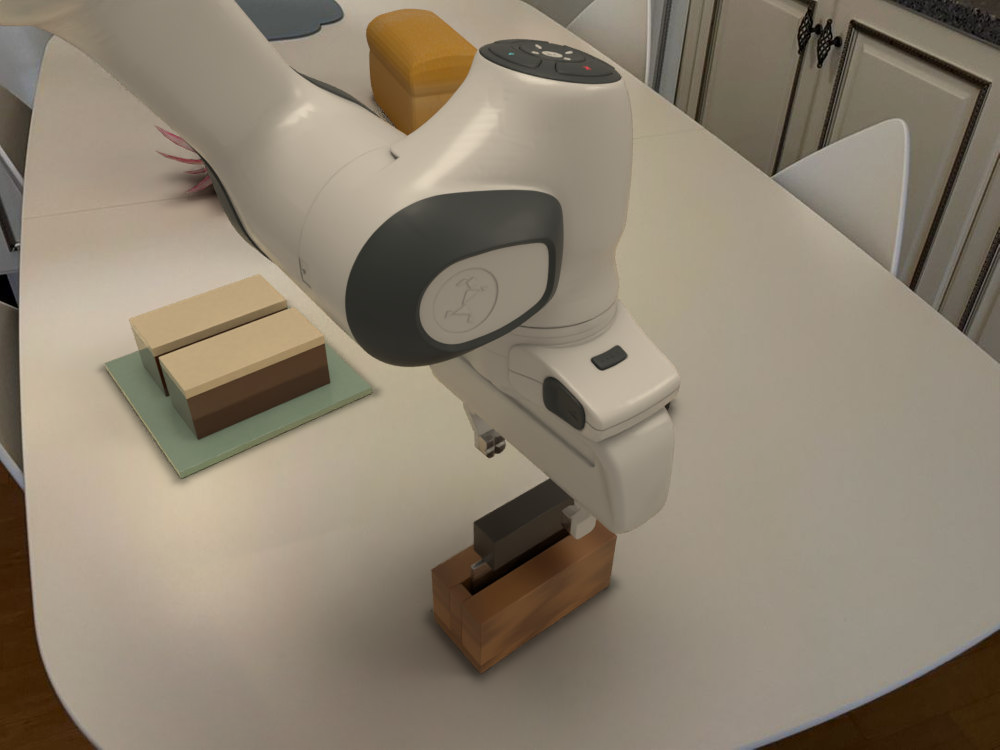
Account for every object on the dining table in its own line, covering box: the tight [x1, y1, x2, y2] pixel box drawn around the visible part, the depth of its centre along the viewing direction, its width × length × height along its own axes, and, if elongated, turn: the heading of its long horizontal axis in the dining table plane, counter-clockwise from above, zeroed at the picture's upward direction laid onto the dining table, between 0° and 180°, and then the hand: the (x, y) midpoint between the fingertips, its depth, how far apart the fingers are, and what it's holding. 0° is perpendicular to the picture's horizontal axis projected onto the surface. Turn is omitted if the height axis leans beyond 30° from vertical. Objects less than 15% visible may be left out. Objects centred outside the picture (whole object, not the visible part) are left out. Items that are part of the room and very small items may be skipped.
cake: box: [104, 273, 373, 479], centre depth 86 cm, size 20×20×7 cm
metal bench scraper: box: [471, 477, 574, 596], centre depth 63 cm, size 10×2×10 cm, turn 128°
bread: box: [365, 8, 478, 136], centre depth 138 cm, size 24×13×15 cm, turn 23°
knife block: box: [430, 519, 618, 674], centre depth 65 cm, size 13×6×6 cm, turn 128°
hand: (531, 487), depth 59 cm, fingers open, 8 cm apart
